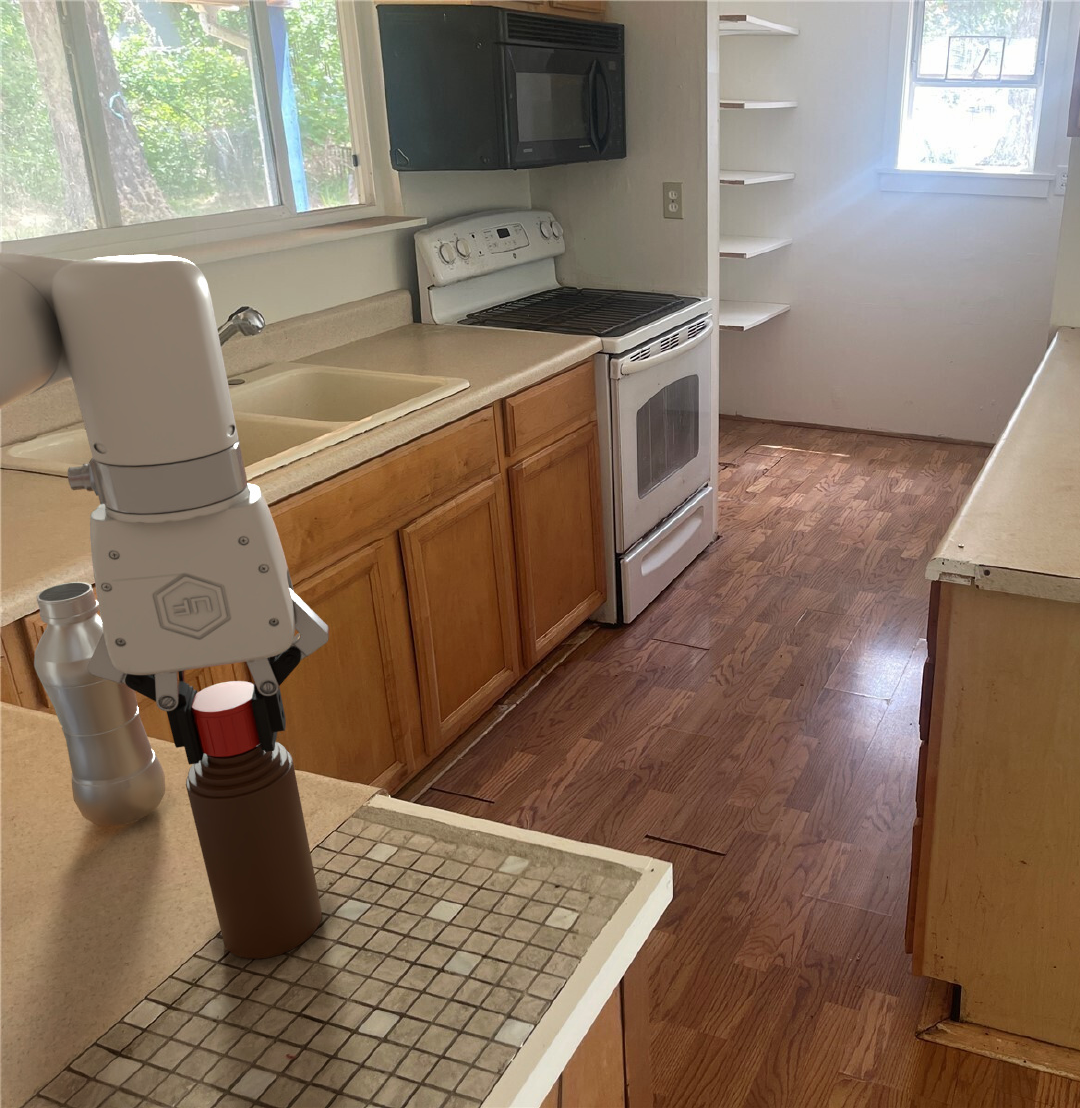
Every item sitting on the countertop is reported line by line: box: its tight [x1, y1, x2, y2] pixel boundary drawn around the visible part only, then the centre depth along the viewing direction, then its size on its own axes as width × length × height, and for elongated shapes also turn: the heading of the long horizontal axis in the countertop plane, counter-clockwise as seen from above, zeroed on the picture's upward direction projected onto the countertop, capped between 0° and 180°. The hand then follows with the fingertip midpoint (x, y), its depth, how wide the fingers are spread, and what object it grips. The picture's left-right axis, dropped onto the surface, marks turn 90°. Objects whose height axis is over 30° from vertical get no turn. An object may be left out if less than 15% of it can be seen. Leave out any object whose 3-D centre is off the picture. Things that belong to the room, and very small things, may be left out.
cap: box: [191, 680, 260, 757], centre depth 66 cm, size 4×4×3 cm
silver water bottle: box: [33, 581, 166, 827], centre depth 81 cm, size 6×7×20 cm
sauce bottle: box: [185, 741, 323, 960], centre depth 69 cm, size 6×6×18 cm
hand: (234, 744), depth 67 cm, fingers closed on cap, 3 cm apart
